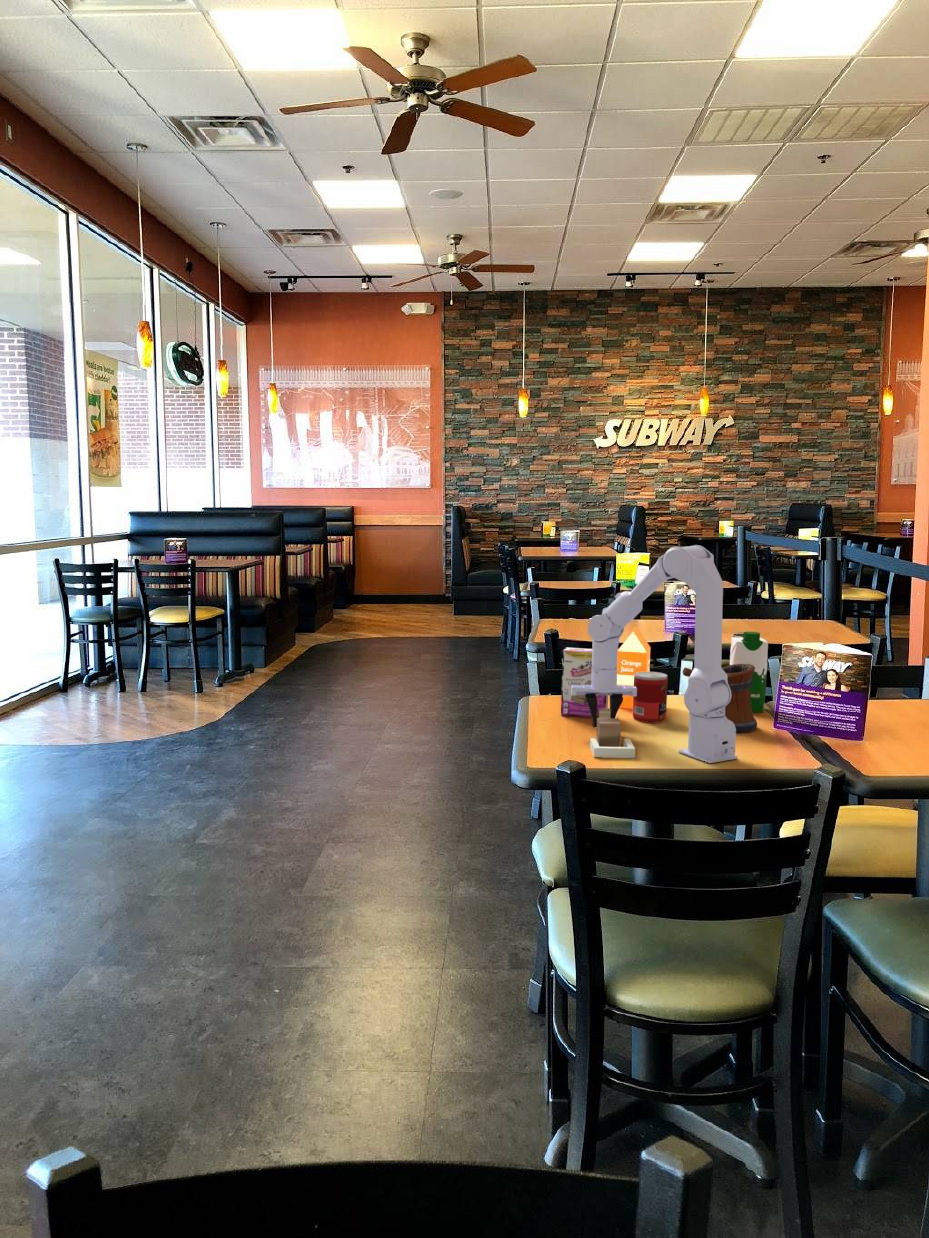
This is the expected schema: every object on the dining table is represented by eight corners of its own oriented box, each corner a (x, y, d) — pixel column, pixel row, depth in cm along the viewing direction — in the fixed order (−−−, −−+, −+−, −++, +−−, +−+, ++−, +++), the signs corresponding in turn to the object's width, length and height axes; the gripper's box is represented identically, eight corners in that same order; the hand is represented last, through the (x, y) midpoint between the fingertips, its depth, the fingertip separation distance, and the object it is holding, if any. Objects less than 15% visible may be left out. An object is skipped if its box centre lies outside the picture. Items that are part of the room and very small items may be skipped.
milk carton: (731, 712, 233) (735, 633, 230) (725, 704, 242) (729, 628, 239) (767, 713, 232) (771, 634, 229) (760, 705, 241) (764, 629, 238)
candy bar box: (560, 716, 228) (561, 650, 225) (563, 711, 232) (564, 646, 230) (606, 719, 225) (608, 652, 223) (608, 714, 230) (610, 649, 227)
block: (619, 748, 199) (620, 721, 198) (598, 748, 199) (599, 720, 198) (612, 734, 211) (613, 708, 210) (592, 733, 211) (593, 707, 210)
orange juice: (614, 707, 238) (616, 629, 235) (619, 700, 246) (621, 625, 243) (645, 709, 235) (648, 631, 233) (649, 702, 244) (651, 626, 241)
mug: (689, 734, 211) (692, 669, 209) (672, 722, 223) (675, 660, 220) (765, 733, 213) (769, 669, 211) (745, 721, 224) (748, 659, 222)
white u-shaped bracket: (634, 758, 192) (635, 748, 192) (594, 757, 192) (594, 748, 192) (629, 748, 200) (629, 738, 199) (589, 747, 200) (590, 738, 200)
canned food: (666, 723, 221) (667, 678, 220) (632, 721, 223) (633, 676, 221) (665, 716, 229) (667, 672, 227) (632, 714, 230) (634, 670, 229)
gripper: (634, 664, 213) (632, 722, 215) (570, 663, 214) (569, 721, 216) (639, 670, 206) (636, 730, 208) (573, 669, 207) (572, 729, 209)
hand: (602, 726), depth 211 cm, fingers open, 3 cm apart
